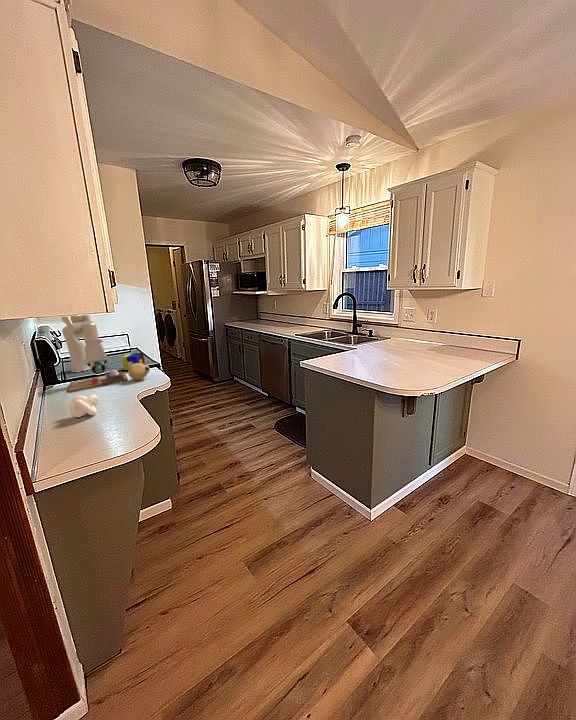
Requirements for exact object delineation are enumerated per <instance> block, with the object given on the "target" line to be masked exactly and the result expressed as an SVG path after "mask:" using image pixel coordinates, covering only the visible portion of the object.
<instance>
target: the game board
mask: <svg viewBox="0 0 576 720" xmlns="http://www.w3.org/2000/svg"><path fill="white" fill-rule="evenodd" d="M118 372H119V375H117V376H111V377H109V373H106V374H105V375H100V376H96V377H90V378H85V379H80V380H74V381H70V385H69V390H68V392H69V394H70V393H71V394H72V393H75V392H81V391H84V390H85V389H86V390H91V389H97V388H101V387H107V386H111V385H115V383H117V384H120V382H122V383H125V382H126V381H127V382H129V379H128V376H127V374H126V371H122V370H121V371H118ZM110 384H111V385H110ZM80 390H81V391H80Z"/></svg>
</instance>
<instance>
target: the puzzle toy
mask: <svg viewBox="0 0 576 720" xmlns="http://www.w3.org/2000/svg"><path fill="white" fill-rule="evenodd" d="M144 355H145V354H144V352H135V353H134V352H131V353H126V354H125V355H123V356H122V357H121V361H122V365H123V371H124V370H129V367H130V366H131V365H132V364H135V363H140V364H143V365H146V361H145V356H144Z"/></svg>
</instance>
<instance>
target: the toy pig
mask: <svg viewBox="0 0 576 720" xmlns="http://www.w3.org/2000/svg"><path fill="white" fill-rule="evenodd" d="M150 370H151V368H150V366H149V365H147V364H145V365H143V364H140V363H135V364H132V365H131V366H130V367H129V370H128V371H127V372H128V376H129V377H130V378H131V380H132V381H135V380H136V381H137V380H139V381H144V378H146V377H147V375H148V374H149V373H150V372H151V371H150Z"/></svg>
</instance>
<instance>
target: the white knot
mask: <svg viewBox="0 0 576 720" xmlns="http://www.w3.org/2000/svg"><path fill="white" fill-rule="evenodd" d="M98 403H99V397H98V395H96V394H91V395H89V396H85V395H77V396H75V397H73V399H72V400H71V401H70V403H69V412H70V415H71V416H72V417H73V416H74V417H73V418H75V417H79V416H83V415H84V416H86V414H87V415H90V416H92V415H93V416H95V415H97V413H98V411H97V408H96V407H97V406H98ZM94 414H95V415H94ZM84 416H83V417H84Z"/></svg>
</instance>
